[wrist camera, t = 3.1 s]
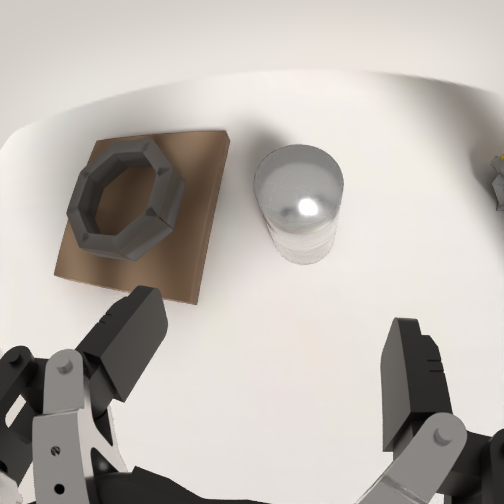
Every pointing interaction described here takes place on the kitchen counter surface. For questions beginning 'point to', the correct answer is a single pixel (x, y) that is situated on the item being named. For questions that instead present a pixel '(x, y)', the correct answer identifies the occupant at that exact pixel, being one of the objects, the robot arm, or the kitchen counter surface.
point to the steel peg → (300, 201)
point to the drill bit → (499, 180)
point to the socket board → (145, 213)
